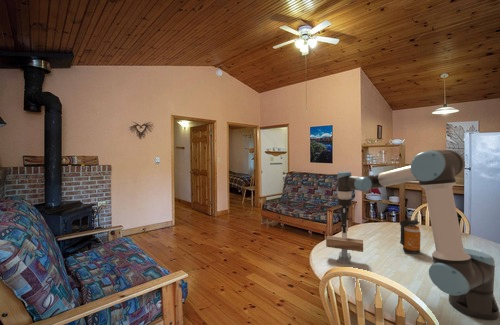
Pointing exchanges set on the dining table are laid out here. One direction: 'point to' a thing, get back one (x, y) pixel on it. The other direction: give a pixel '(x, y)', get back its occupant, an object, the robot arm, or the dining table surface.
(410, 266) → the dining table surface
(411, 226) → the canister
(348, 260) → the fulcrum
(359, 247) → the walnut bar
